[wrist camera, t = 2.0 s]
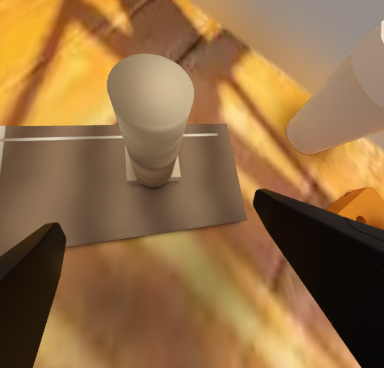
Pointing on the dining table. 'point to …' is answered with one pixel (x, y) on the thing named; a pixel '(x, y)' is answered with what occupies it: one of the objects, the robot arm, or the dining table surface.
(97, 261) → the dining table surface
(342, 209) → the bracket
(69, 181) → the walnut board
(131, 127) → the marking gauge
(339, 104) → the foam cup
